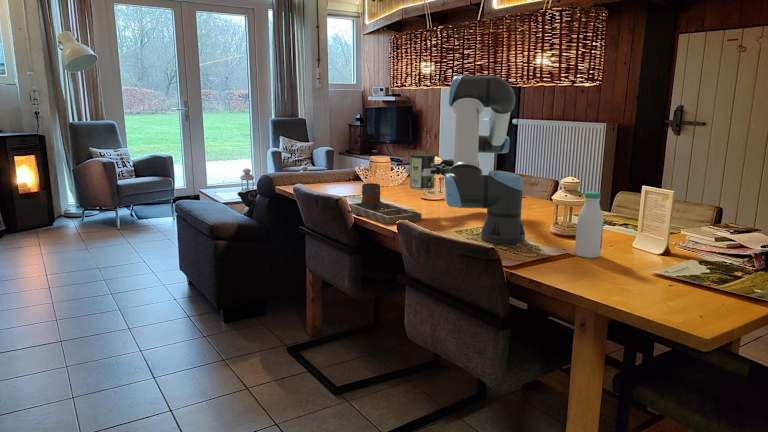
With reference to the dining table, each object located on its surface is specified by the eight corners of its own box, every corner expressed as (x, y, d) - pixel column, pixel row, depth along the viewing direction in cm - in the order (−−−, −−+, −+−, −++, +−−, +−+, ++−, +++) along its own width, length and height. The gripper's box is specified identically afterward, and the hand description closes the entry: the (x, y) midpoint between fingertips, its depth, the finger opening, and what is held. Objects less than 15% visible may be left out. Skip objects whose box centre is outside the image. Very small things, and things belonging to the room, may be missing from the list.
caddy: (421, 220, 222) (421, 213, 222) (387, 224, 214) (387, 217, 213) (379, 207, 249) (379, 200, 248) (348, 210, 241) (348, 203, 240)
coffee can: (435, 187, 235) (436, 153, 233) (432, 190, 225) (433, 155, 223) (411, 186, 237) (412, 153, 235) (407, 189, 227) (408, 155, 225)
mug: (369, 215, 231) (369, 187, 229) (357, 210, 242) (358, 183, 240) (387, 213, 235) (388, 186, 233) (375, 208, 246) (376, 182, 243)
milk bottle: (597, 259, 169) (603, 195, 165) (571, 256, 173) (576, 192, 169) (602, 254, 176) (608, 191, 172) (577, 250, 180) (582, 189, 176)
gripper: (471, 179, 234) (434, 183, 220) (432, 173, 251) (395, 177, 236) (471, 161, 233) (435, 164, 218) (432, 156, 249) (396, 159, 235)
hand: (414, 171), depth 227 cm, fingers closed on coffee can, 10 cm apart
